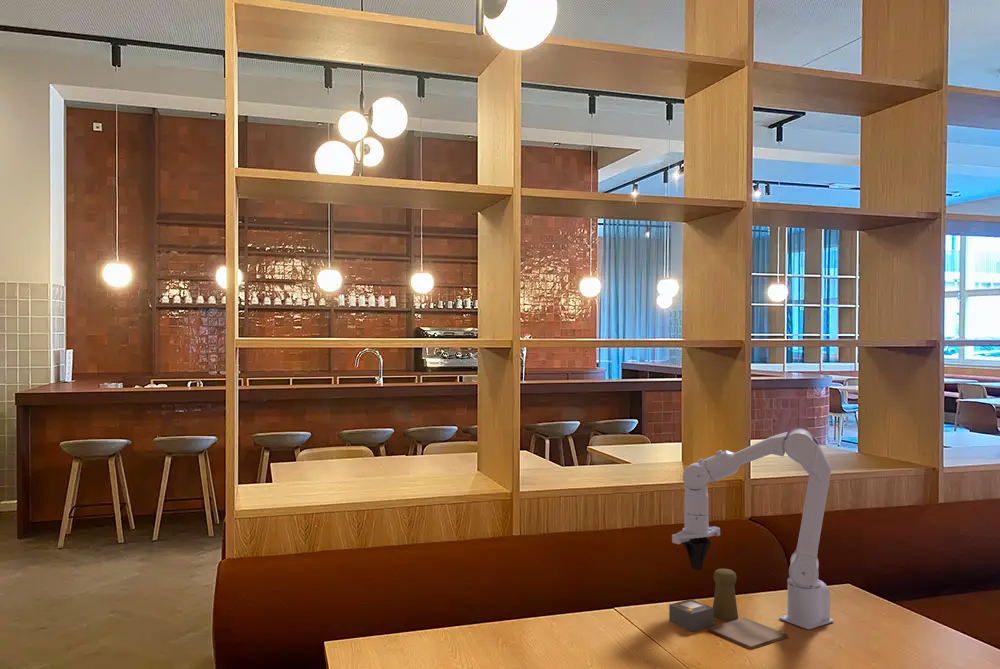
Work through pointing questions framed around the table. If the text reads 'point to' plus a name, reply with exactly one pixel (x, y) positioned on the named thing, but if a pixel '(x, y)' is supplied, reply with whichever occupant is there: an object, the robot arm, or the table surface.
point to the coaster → (747, 633)
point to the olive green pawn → (725, 595)
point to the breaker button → (691, 605)
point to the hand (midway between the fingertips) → (696, 568)
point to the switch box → (691, 616)
